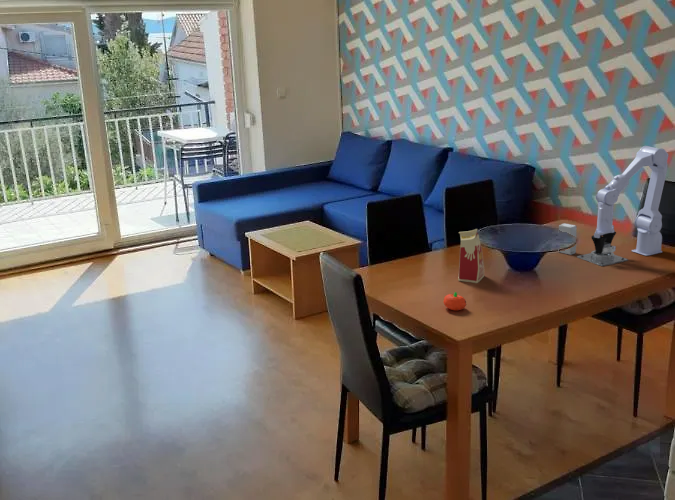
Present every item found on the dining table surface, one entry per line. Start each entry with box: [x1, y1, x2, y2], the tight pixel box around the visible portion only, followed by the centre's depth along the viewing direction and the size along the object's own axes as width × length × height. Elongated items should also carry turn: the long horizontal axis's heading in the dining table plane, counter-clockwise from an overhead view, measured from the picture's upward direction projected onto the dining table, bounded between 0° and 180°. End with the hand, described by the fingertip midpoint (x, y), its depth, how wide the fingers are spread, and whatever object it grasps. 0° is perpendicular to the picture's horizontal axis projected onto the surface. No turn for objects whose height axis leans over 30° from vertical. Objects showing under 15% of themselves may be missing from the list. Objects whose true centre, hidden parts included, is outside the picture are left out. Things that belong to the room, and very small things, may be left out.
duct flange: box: [576, 250, 629, 267], centre depth 290 cm, size 14×14×2 cm
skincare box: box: [558, 222, 578, 256], centre depth 299 cm, size 6×4×12 cm
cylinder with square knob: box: [597, 242, 616, 256], centre depth 289 cm, size 5×7×6 cm
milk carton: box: [457, 228, 485, 284], centre depth 272 cm, size 9×9×20 cm
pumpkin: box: [443, 291, 468, 311], centre depth 245 cm, size 7×8×6 cm
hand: (602, 250), depth 290 cm, fingers open, 7 cm apart
